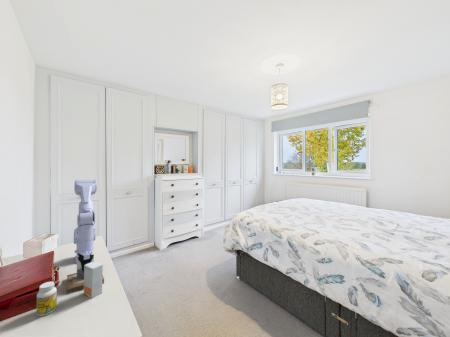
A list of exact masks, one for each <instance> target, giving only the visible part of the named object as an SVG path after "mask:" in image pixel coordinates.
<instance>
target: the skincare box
mask: <svg viewBox="0 0 450 337" xmlns="http://www.w3.org/2000/svg"><path fill="white" fill-rule="evenodd" d="M103 267H104V266H103V264H102V263H100V262H98V261H96V260H94V261H93V262H91V263H88V264H86V265H84V289H83V294H84V295H85V296H87V297H89V298H91V299H94V298H95V297H96V298H97V296H99V295H102V294H103V284H102V274H103Z"/></svg>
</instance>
